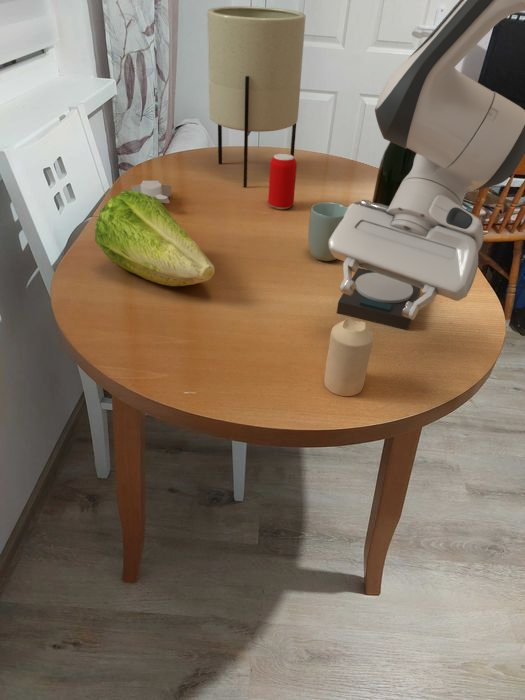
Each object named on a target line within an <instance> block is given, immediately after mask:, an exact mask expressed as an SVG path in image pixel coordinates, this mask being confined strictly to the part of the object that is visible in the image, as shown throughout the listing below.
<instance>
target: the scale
mask: <svg viewBox="0 0 525 700" xmlns="http://www.w3.org/2000/svg"><path fill="white" fill-rule="evenodd" d="M352 281H354V282H355V284H356V285H357V286H356V288H355V290H353V294H352V295H351V296H350V295H347V294H345V293H342V295H341V296H340V298H339V300H338V301H337V308H336V314H339V315H344V316H349V317H351V318H356V319H360V320H364V321H369V322H373V323H376V324H380V325H385V326H388V327H393V328H397V329H401V330H406V331H409V328H410V327H409V326H410V325H411V321H412V319H409V318H407V317H404V316H403V315H402V311H403V308H405V304H406V303H407V301H409V302H412V303H413V302H415V301H416V300H417V299H419V298H420V294H421V292H422V289H421V288H418V287H416V286H413V285H410V284H407V283H404V282H402V281H399V280H396V279H393V278H390V277H387V276H385V275H382V274H379V273H376V272H373V271H370V270H368V269H365V268H362V267H358V269H357V270H356V272H354V274H353V275H352Z"/></svg>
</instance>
